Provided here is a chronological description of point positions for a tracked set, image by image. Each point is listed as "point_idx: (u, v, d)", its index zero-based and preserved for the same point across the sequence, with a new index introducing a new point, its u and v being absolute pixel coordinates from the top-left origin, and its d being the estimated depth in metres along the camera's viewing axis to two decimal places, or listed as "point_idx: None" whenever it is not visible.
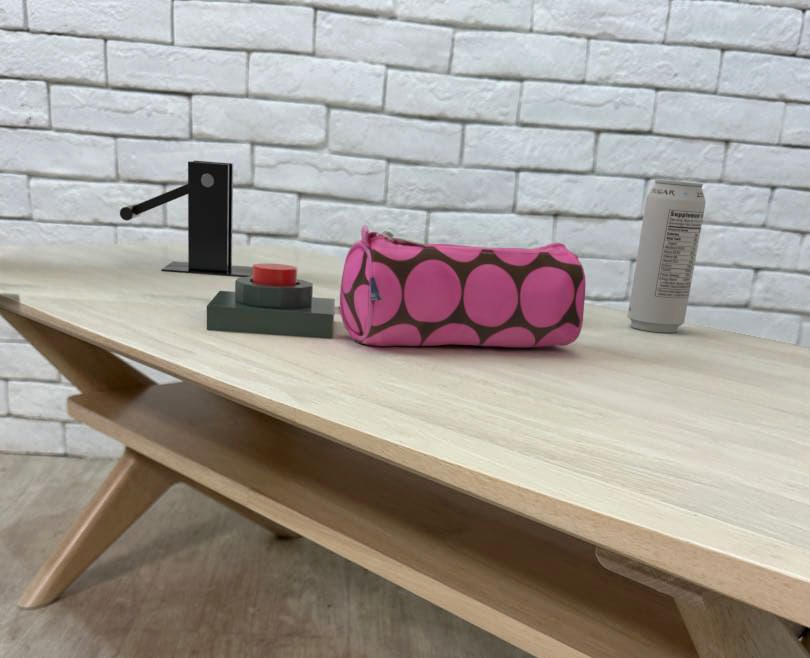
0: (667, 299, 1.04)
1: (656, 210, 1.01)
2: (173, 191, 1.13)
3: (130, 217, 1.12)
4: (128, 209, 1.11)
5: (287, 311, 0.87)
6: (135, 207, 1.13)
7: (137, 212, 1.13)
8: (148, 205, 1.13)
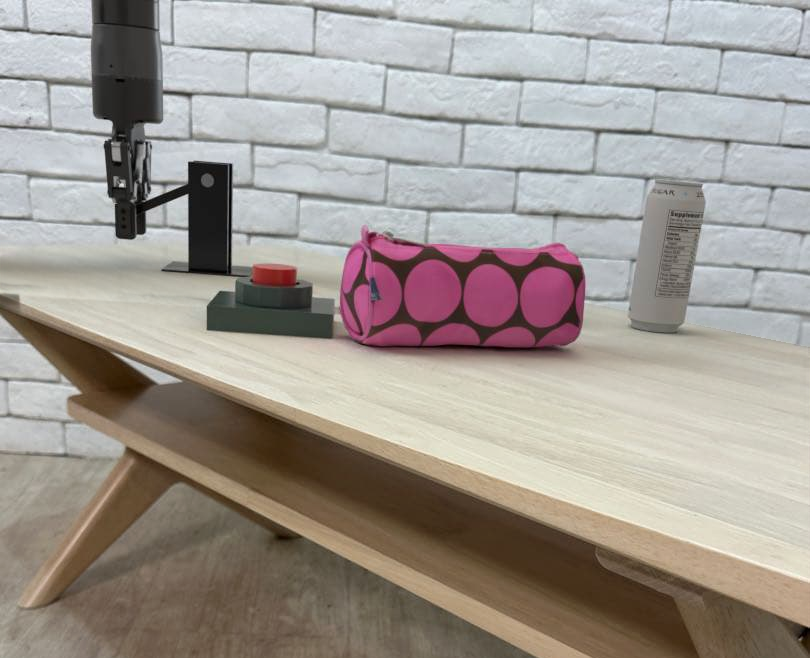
0: (667, 299, 1.04)
1: (656, 210, 1.01)
2: (173, 191, 1.13)
3: None
4: None
5: (287, 311, 0.87)
6: None
7: (137, 212, 1.13)
8: (148, 205, 1.13)
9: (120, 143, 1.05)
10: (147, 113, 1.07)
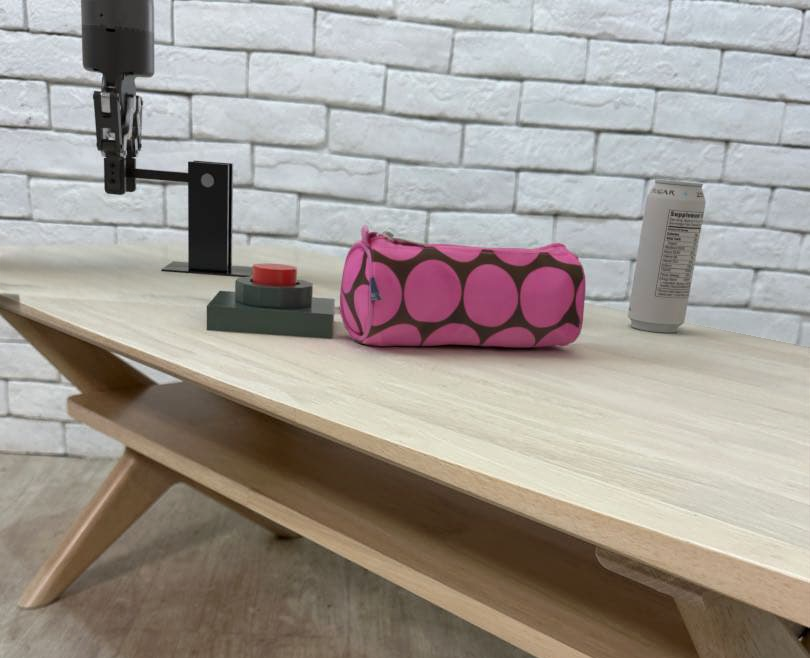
0: (667, 299, 1.04)
1: (656, 210, 1.01)
2: (170, 173, 1.12)
3: None
4: None
5: (287, 311, 0.87)
6: (127, 170, 1.12)
7: (127, 175, 1.12)
8: (141, 174, 1.12)
9: (110, 93, 1.03)
10: (137, 65, 1.06)
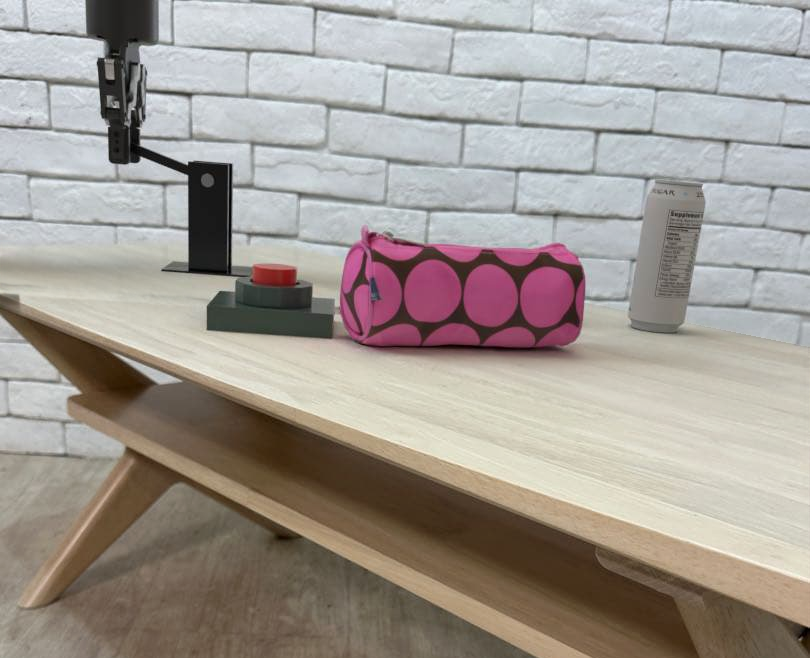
0: (667, 299, 1.04)
1: (656, 210, 1.01)
2: (173, 161, 1.11)
3: None
4: None
5: (287, 311, 0.87)
6: (131, 145, 1.11)
7: (130, 150, 1.11)
8: (143, 153, 1.11)
9: (114, 60, 1.02)
10: (142, 32, 1.05)
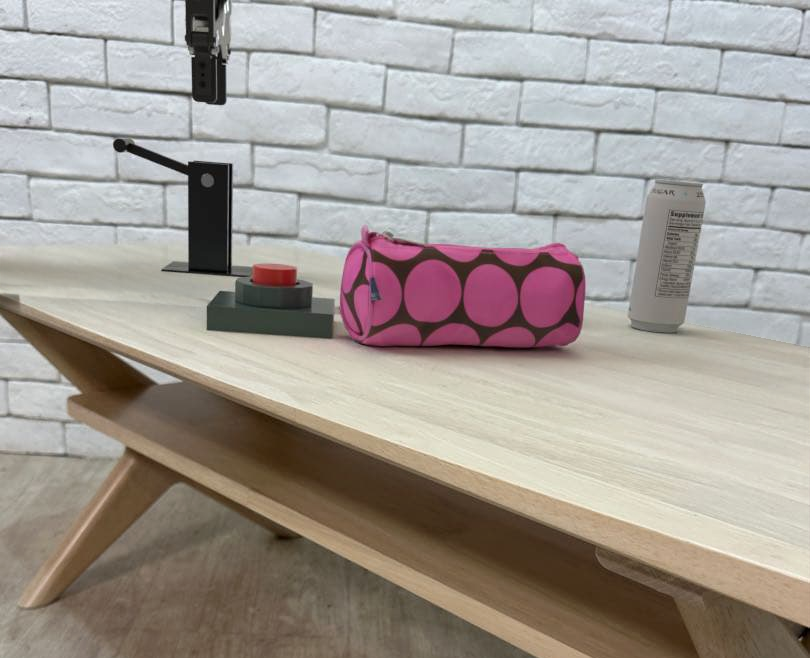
0: (667, 299, 1.04)
1: (656, 210, 1.01)
2: (173, 161, 1.11)
3: (120, 151, 1.09)
4: (124, 144, 1.09)
5: (287, 311, 0.87)
6: (131, 145, 1.11)
7: (129, 150, 1.11)
8: (143, 154, 1.11)
9: None
10: None
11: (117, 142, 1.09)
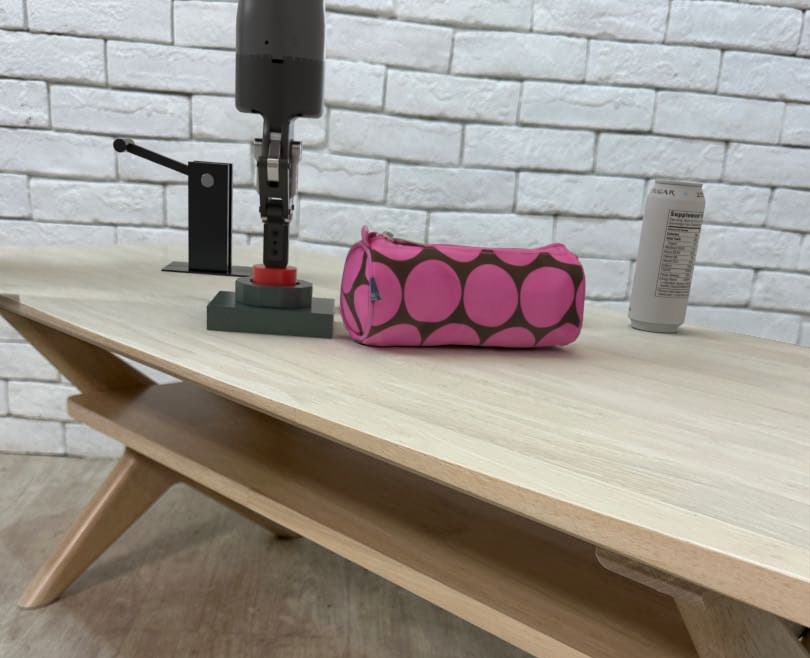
0: (667, 299, 1.04)
1: (656, 210, 1.01)
2: (173, 161, 1.11)
3: (120, 151, 1.09)
4: (124, 144, 1.09)
5: (287, 311, 0.87)
6: (131, 145, 1.11)
7: (129, 150, 1.11)
8: (143, 154, 1.11)
9: (278, 162, 0.81)
10: (308, 105, 0.82)
11: (117, 142, 1.09)
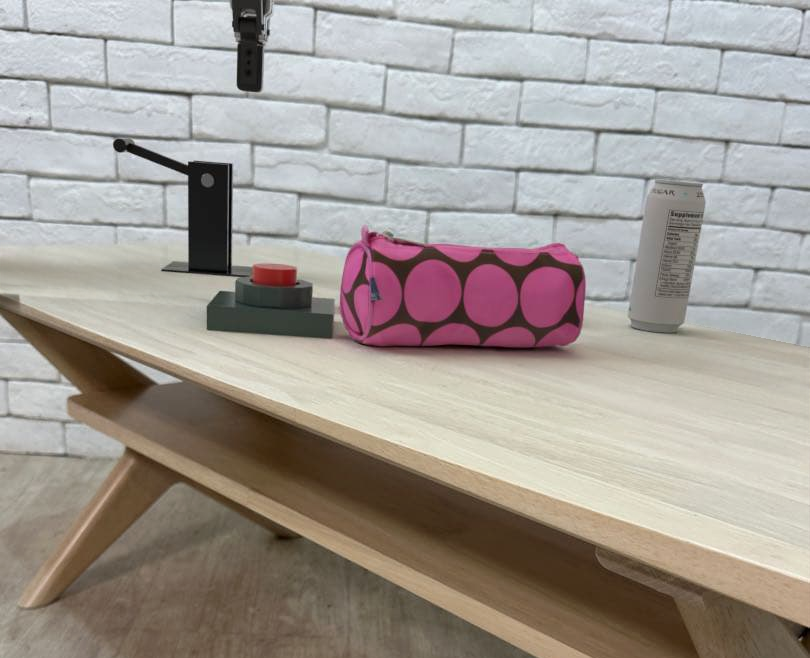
0: (667, 299, 1.04)
1: (656, 210, 1.01)
2: (173, 161, 1.11)
3: (120, 151, 1.09)
4: (124, 144, 1.09)
5: (287, 311, 0.87)
6: (131, 145, 1.11)
7: (129, 150, 1.11)
8: (143, 154, 1.11)
9: None
10: None
11: (117, 142, 1.09)
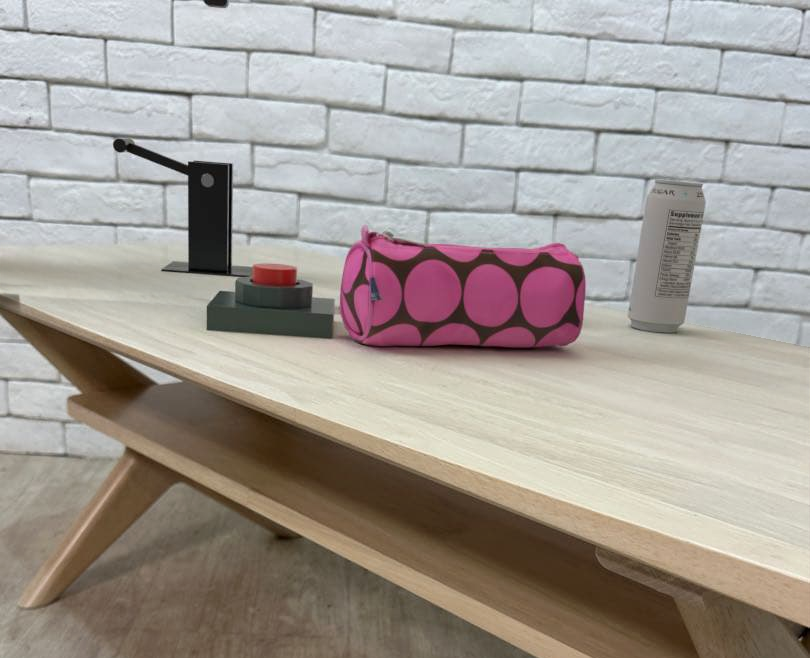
0: (667, 299, 1.04)
1: (656, 210, 1.01)
2: (173, 161, 1.11)
3: (120, 151, 1.09)
4: (124, 144, 1.09)
5: (287, 311, 0.87)
6: (131, 145, 1.11)
7: (129, 150, 1.11)
8: (143, 154, 1.11)
9: None
10: None
11: (117, 142, 1.09)
